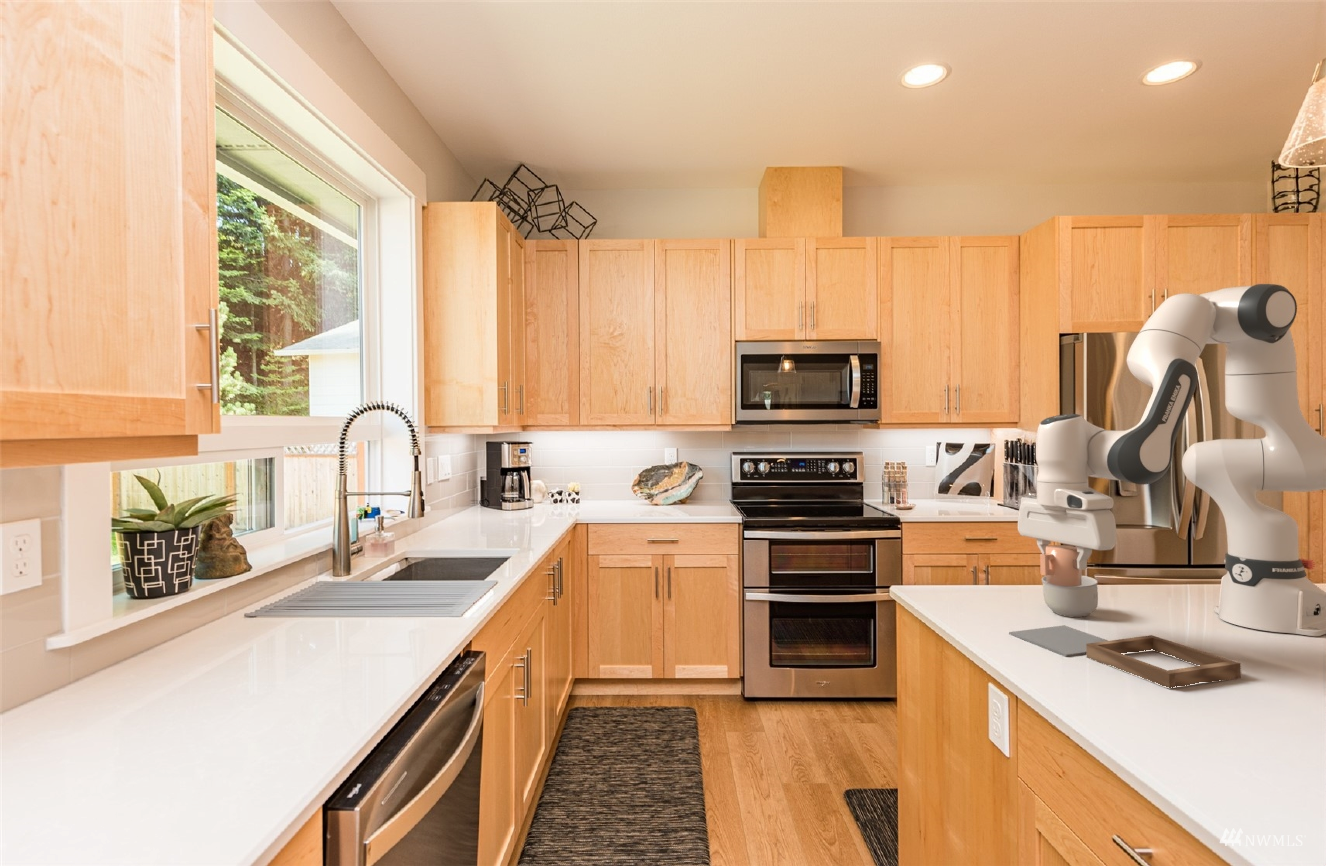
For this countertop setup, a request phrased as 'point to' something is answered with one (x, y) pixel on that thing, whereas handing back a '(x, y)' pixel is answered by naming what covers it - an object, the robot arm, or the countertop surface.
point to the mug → (1060, 566)
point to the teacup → (1072, 597)
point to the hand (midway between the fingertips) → (1063, 565)
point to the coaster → (1059, 639)
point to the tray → (1206, 672)
